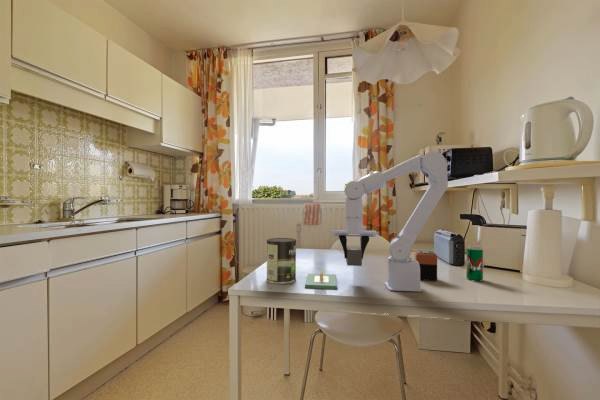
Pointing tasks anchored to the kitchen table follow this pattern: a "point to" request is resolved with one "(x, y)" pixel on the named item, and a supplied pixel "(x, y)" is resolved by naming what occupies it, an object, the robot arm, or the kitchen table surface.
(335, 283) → the header board
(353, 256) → the block
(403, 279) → the robot arm
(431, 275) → the battery
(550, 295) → the kitchen table surface
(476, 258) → the soda can
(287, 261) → the coffee can
